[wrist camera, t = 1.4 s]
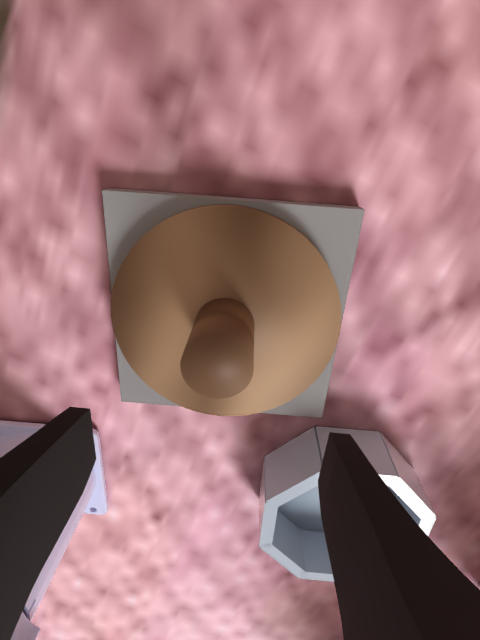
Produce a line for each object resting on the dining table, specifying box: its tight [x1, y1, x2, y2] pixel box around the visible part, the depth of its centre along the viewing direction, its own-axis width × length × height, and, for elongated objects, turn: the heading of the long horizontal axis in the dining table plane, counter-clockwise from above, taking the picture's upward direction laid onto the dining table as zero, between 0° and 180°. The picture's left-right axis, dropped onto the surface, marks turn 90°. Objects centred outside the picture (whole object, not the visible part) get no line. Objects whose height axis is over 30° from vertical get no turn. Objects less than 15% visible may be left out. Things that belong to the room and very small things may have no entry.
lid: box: [111, 204, 341, 416], centre depth 17 cm, size 12×12×5 cm
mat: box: [102, 188, 365, 418], centre depth 20 cm, size 12×12×1 cm
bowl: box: [259, 426, 436, 582], centre depth 24 cm, size 10×10×4 cm
